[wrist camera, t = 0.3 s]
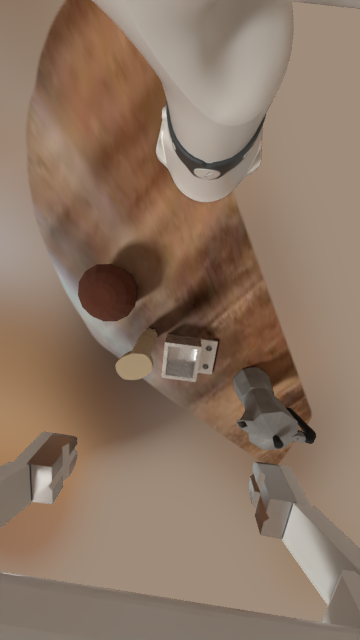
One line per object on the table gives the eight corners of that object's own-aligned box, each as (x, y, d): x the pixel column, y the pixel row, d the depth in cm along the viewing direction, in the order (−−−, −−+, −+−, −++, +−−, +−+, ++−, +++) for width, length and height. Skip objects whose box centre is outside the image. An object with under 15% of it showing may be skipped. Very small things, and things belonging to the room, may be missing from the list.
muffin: (110, 319, 49) (90, 336, 39) (83, 277, 46) (55, 284, 36) (153, 298, 46) (143, 310, 37) (128, 252, 43) (110, 253, 34)
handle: (167, 337, 49) (156, 373, 35) (143, 346, 50) (123, 383, 36) (159, 320, 48) (144, 349, 34) (134, 329, 49) (111, 360, 35)
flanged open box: (167, 333, 49) (165, 342, 44) (217, 340, 48) (220, 349, 44) (164, 366, 52) (161, 377, 47) (211, 372, 51) (213, 384, 47)
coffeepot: (220, 391, 53) (233, 458, 36) (230, 360, 50) (250, 417, 33) (277, 404, 53) (318, 475, 36) (291, 373, 50) (342, 436, 33)
